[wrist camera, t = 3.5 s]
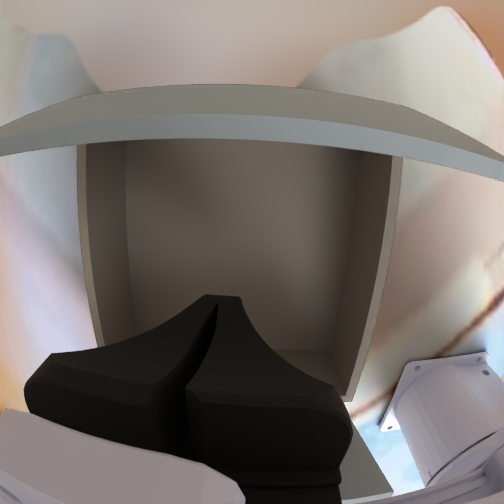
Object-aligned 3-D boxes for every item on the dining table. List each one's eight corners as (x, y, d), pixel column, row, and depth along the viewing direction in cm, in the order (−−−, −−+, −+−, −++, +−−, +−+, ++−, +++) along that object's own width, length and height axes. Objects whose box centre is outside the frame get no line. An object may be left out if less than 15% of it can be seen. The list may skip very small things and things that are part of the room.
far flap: (393, 491, 8) (390, 497, 8) (347, 414, 15) (346, 420, 15) (45, 457, 8) (47, 463, 8) (109, 396, 15) (109, 401, 15)
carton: (365, 137, 16) (404, 131, 11) (335, 352, 20) (351, 401, 15) (123, 127, 16) (78, 120, 11) (134, 338, 20) (106, 382, 15)
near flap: (405, 116, 10) (407, 106, 10) (522, 187, 5) (527, 171, 4) (77, 105, 10) (76, 97, 10) (-47, 167, 5) (-50, 153, 4)
